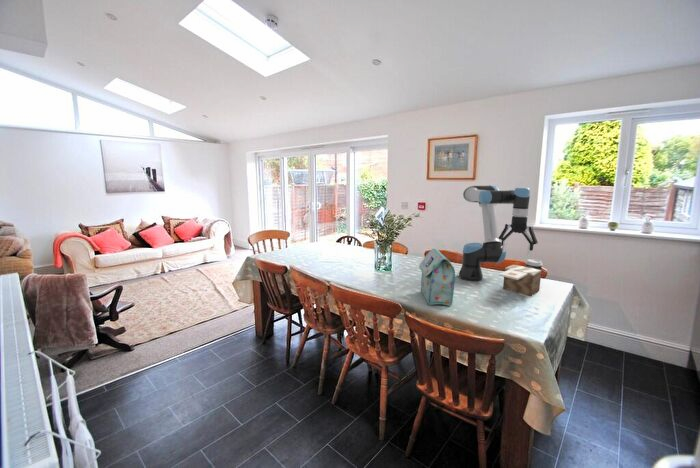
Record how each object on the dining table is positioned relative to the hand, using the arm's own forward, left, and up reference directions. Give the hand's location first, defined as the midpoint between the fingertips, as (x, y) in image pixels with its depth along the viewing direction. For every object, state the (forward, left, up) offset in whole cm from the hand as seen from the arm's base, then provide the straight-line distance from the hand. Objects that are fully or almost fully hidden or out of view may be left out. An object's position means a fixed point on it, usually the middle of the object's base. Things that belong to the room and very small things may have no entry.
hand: (516, 253), depth 179 cm
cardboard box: (0, +12, -24) cm, 28 cm away
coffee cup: (0, +29, -25) cm, 39 cm away
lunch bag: (-26, -38, -25) cm, 52 cm away
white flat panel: (0, -1, -12) cm, 12 cm away
